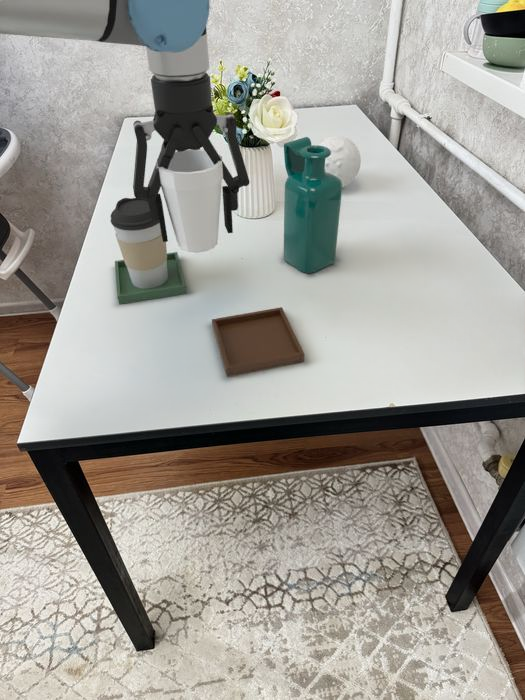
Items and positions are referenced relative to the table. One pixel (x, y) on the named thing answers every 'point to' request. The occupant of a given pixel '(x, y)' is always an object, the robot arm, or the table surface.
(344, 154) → the decorative ball
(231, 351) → the walnut tray
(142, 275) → the coffee cup
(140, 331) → the table surface
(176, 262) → the sage tray
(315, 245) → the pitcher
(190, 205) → the foam cup
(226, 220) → the robot arm
